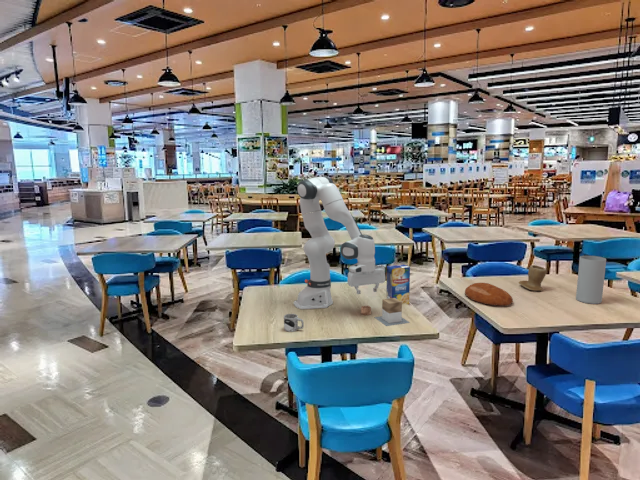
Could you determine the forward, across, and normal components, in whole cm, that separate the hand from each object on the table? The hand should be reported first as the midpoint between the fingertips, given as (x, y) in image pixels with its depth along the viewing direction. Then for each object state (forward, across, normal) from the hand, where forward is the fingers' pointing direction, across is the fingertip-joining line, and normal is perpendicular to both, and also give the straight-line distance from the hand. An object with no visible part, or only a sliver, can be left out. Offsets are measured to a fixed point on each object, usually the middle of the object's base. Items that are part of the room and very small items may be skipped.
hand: (366, 292), depth 217 cm
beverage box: (+13, -24, -12) cm, 30 cm away
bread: (+15, -78, -2) cm, 79 cm away
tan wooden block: (+7, -8, +12) cm, 16 cm away
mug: (+12, +40, +3) cm, 43 cm away
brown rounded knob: (+13, 0, -1) cm, 13 cm away
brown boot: (+15, -118, -8) cm, 120 cm away
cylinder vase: (+16, -128, +22) cm, 131 cm away
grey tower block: (+12, -8, +12) cm, 19 cm away
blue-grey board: (+13, -8, +12) cm, 20 cm away
